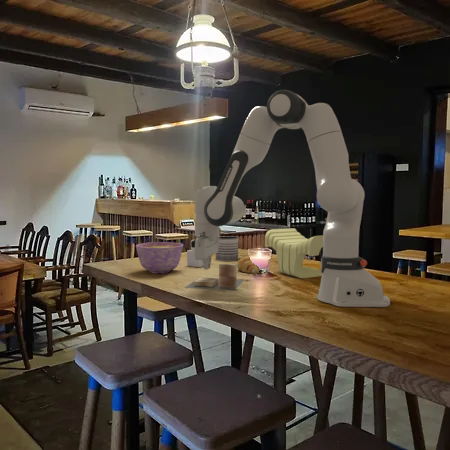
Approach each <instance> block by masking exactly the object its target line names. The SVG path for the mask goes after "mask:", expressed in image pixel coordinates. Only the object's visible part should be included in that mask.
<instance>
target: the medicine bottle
mask: <svg viewBox="0 0 450 450" xmlns="http://www.w3.org/2000/svg"><path fill="white" fill-rule="evenodd" d="M195 241H196V239H192V240H191V241H190V249H189V250H187V251H186V266H187V267H192V268H193V267H194V268H202V267H204V265H203V261H202V260H195Z"/></svg>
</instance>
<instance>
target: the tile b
mask: <svg viewBox="0 0 450 450" xmlns="http://www.w3.org/2000/svg"><path fill="white" fill-rule="evenodd" d="M237 269H238V267H237V264H233V263H230V264H229V263H219V264H218V279H219V287H233V288H236V280H237V271H238V270H237ZM236 289H237V288H236Z"/></svg>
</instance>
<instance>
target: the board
mask: <svg viewBox="0 0 450 450" xmlns="http://www.w3.org/2000/svg"><path fill="white" fill-rule="evenodd" d="M244 281H245V279H236V288H233V287H219V278H218V283H217V284H216V285H214V286H213V287H209V286H194V281H192V282H191V283H189V284H188V285H187V286H184V288H185V289H200V290H201V289H202V290H218V291H220V290H221V291H236V290H237V288H239V286H240V285H241V284H242V283H243V282H244Z"/></svg>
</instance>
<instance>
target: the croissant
mask: <svg viewBox="0 0 450 450" xmlns="http://www.w3.org/2000/svg"><path fill="white" fill-rule="evenodd" d="M237 269H238V270H239V271H240V272H242V273H247V274H253V275H257V274H259V273H260V272H261V271H260V269H259V267H258V266H257V265H255V264H254V263H252V261H251V260H250V257H249V255H245V256H243V257H240V259H238V261H237ZM259 271H260V272H259Z"/></svg>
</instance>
